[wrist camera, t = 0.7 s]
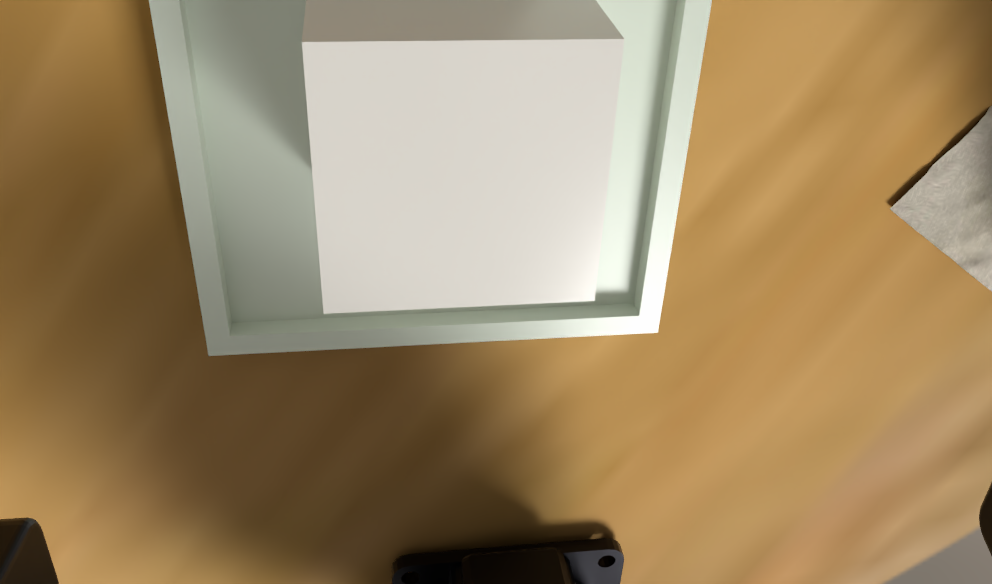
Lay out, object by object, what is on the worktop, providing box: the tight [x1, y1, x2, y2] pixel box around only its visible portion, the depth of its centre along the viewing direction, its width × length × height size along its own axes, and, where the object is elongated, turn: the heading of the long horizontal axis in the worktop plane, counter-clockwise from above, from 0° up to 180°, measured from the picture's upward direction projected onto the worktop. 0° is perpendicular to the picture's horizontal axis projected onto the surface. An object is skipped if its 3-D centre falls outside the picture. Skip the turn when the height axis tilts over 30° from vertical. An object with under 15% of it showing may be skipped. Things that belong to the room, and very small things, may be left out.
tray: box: [149, 0, 712, 356], centre depth 18 cm, size 12×10×1 cm
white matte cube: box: [302, 0, 624, 314], centre depth 16 cm, size 4×4×4 cm
